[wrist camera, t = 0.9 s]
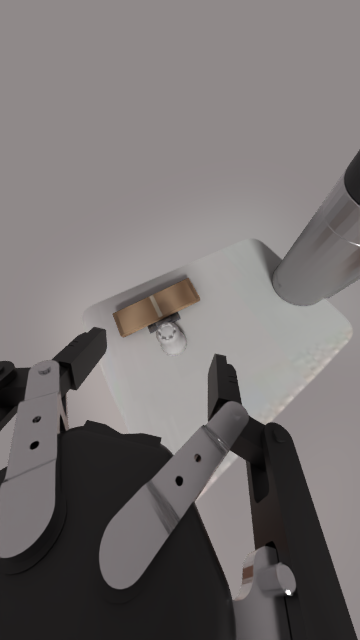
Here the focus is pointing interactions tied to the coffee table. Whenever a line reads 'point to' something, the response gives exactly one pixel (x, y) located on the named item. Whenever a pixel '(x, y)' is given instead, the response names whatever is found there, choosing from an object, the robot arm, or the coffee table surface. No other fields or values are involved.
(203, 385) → the coffee table surface
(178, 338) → the rook chess piece
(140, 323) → the beam
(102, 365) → the coffee table surface
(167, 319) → the fulcrum
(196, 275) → the coffee table surface
